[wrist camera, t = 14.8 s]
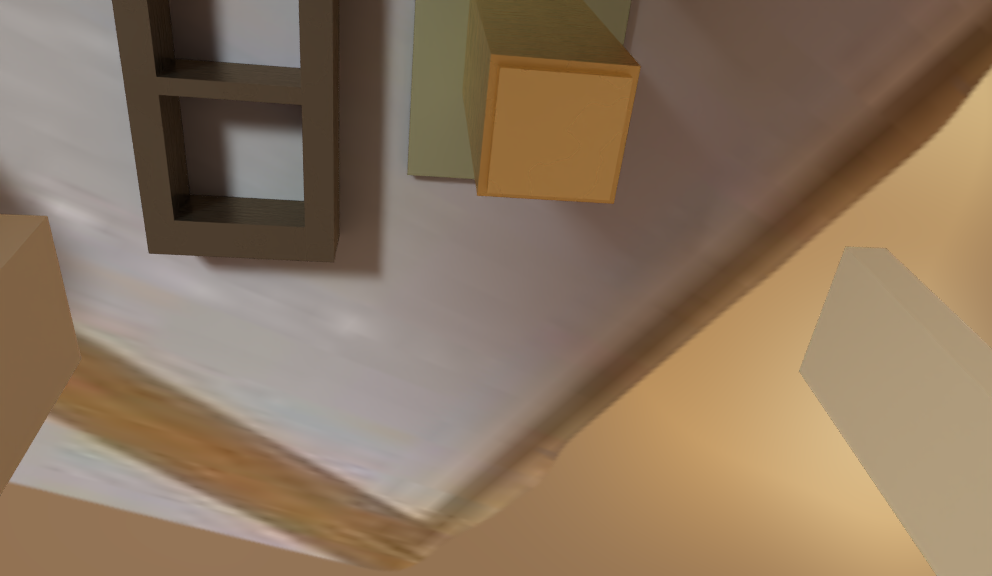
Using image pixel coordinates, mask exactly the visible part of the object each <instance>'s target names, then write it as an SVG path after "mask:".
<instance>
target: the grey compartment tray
mask: <svg viewBox="0 0 992 576" xmlns="http://www.w3.org/2000/svg"><path fill="white" fill-rule="evenodd" d="M112 4H113V11H114V18H115V25H116V32H117V38H118V45H119V52H120V59H121V66H122V73H123V80H124V87H125V93H126V100H127V107H128V114H129V121H130V128H131V135H132V141H133V148H134V155H135V162H136V169H137V176H138V183H139V190H140V196H141V203H142V210H143V217H144V224H145V231H146V238H147V244H148V251H149V253H150V254H171V255H191V256H212V257H233V258H254V259H275V260H296V261H317V262H334V260H335V255H336V250H337V245H338V240H339V0H299V27H300V63H301V68H291V67H278V66H265V65H252V64H239V63H226V62H214V61H201V60H188V59H175V55H174V46H173V37H172V27H171V18H170V9H169V0H112ZM179 96H183V97H196V98H210V99H224V100H238V101H252V102H266V103H280V104H294V105H302V136H303V172H304V201H292V200H275V199H257V198H240V197H222V196H205V195H190V191H189V182H188V173H187V164H186V155H185V146H184V137H183V128H182V118H181V109H180V100H179Z"/></svg>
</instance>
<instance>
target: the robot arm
mask: <svg viewBox="0 0 992 576" xmlns="http://www.w3.org/2000/svg"><path fill="white" fill-rule="evenodd" d="M80 361H81V355H80V351H79V347H78V343H77V338H76V334H75V330H74V326H73V322H72V317H71V313H70V309H69V305H68V301H67V296H66V292H65V288H64V284H63V280H62V275H61V271H60V267H59V263H58V259H57V254H56V250H55V246H54V242H53V238H52V233H51V229H50V225H49V221H48V217H47V216H34V215H8V214H0V495H1V494H2V492H3V490H4V489H5V487H6V485H7V484H8V482H9V480H10V478H11V477H12V475H13V473H14V472H15V470H16V468H17V467H18V465H19V463H20V462H21V460H22V458H23V457H24V455H25V453H26V452H27V450H28V448H29V446H30V445H31V443H32V441H33V440H34V438H35V436H36V435H37V433H38V431H39V430H40V428H41V426H42V425H43V423H44V421H45V420H46V418H47V416H48V414H49V413H50V411H51V409H52V408H53V406H54V404H55V403H56V401H57V399H58V398H59V396H60V394H61V393H62V391H63V389H64V388H65V386H66V384H67V382H68V381H69V379H70V377H71V376H72V374H73V372H74V371H75V369H76V367H77V366H78V364H79V362H80ZM799 372H800V374H801V375H802V377H803V378H804V379H805V381H806V382H807V384H808V385H809V387H810V388H811V390H812V391H813V393H814V394H815V396H816V397H817V399H818V400H819V402H820V403H821V405H822V406H823V408H824V409H825V411H826V412H827V414H828V415H829V417H830V418H831V420H832V421H833V423H834V424H835V425H836V427H837V429H838V430H839V432H840V433H841V434H842V436H843V437H844V439H845V440H846V442H847V443H848V445H849V446H850V448H851V449H852V451H853V452H854V454H855V455H856V457H857V458H858V460H859V461H860V463H861V464H862V466H863V467H864V469H865V470H866V471H867V473H868V474H869V476H870V478H871V479H872V480H873V482H874V483H875V485H876V486H877V488H878V489H879V491H880V492H881V494H882V495H883V497H884V498H885V499H886V501H887V503H888V504H889V506H890V507H891V509H892V510H893V511H894V513H895V515H896V516H897V518H898V519H899V521H900V522H901V524H902V525H903V526H904V528H905V530H906V531H907V533H908V534H909V535H910V537H911V538H912V540H913V541H914V543H915V544H916V546H917V547H918V549H919V550H920V552H921V553H922V555H923V556H924V557H925V559H926V561H927V562H928V564H929V565H930V567H931V568H932V570H933V571H934V573H935V574H936V576H992V348H991V347H990V346H989V345H988V344H986V343H985V342H984V341H983V340H982V339H981V338H980V337H979V336H978V335H977V334H976V333H975V332H974V331H973V330H972V329H971V328H970V327H969V326H968V325H966V324H965V323H964V322H963V321H962V320H961V319H960V318H959V317H958V316H957V315H956V314H955V313H954V312H953V311H952V310H951V309H950V308H949V307H948V306H946V305H945V304H944V303H943V302H942V301H941V300H940V299H939V298H938V297H937V296H936V295H935V294H934V293H933V292H932V291H931V290H930V289H929V288H928V287H926V286H925V285H924V284H923V283H922V282H921V281H920V280H919V279H918V278H917V277H916V276H915V275H914V274H913V273H912V272H911V271H910V270H909V269H908V268H907V267H905V266H904V265H903V264H902V263H901V262H900V261H899V260H898V259H897V258H896V257H895V256H894V255H893V254H892V253H891V252H890V251H889V250H888V249H887V248H869V247H845V249H844V252H843V255H842V257H841V260H840V263H839V265H838V268H837V271H836V273H835V276H834V279H833V281H832V284H831V287H830V290H829V292H828V295H827V298H826V300H825V303H824V305H823V308H822V311H821V313H820V316H819V319H818V322H817V324H816V327H815V329H814V332H813V335H812V338H811V340H810V343H809V346H808V348H807V351H806V354H805V356H804V359H803V362H802V364H801V367H800V370H799Z"/></svg>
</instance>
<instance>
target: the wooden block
mask: <svg viewBox="0 0 992 576" xmlns="http://www.w3.org/2000/svg"><path fill="white" fill-rule="evenodd" d="M640 68H641V66H640V65H639V64H638V63H637V62H636V60H635V59H634V58H633V57H632V56H631V55H630V54H629V52H628V51H627V50H626V49H625V48H624V47H623V45H622V44H621V43H620V42H619V41H618V40H617V39H616V37H615V36H614V35H613V34H612V33H611V32H610V31H609V29H608V28H607V27H606V26H605V25H604V24H603V22H602V21H601V20H600V19H599V18H598V17H597V16H596V14H595V13H594V12H593V11H592V10H591V9H590V8H589V6H588V5H587V4H586V3H585V2H584V1H583V0H470V3H469V15H468V28H467V40H466V52H465V65H464V77H463V90H462V95H463V101H464V108H465V115H466V122H467V129H468V136H469V143H470V150H471V157H472V163H473V170H474V177H475V184H476V191H477V196H493V197H510V198H527V199H544V200H560V201H577V202H594V203H611V204H614V200H615V195H616V189H617V184H618V179H619V174H620V169H621V164H622V159H623V154H624V149H625V144H626V139H627V134H628V129H629V123H630V118H631V113H632V108H633V103H634V98H635V93H636V88H637V83H638V78H639V73H640Z"/></svg>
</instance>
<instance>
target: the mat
mask: <svg viewBox="0 0 992 576" xmlns="http://www.w3.org/2000/svg"><path fill="white" fill-rule="evenodd" d="M583 1H584V2H585V3H586V4H587V5H588V6H589V8H590V9H591V10H592V11H593V12H594V13H595V14H596V16H597V17H598V18H599V19H600V20H601V21H602V22H603V24H604V25H605V26H606V27H607V28H608V29H609V31H610V32H611V33H612V34H613V35H614V36H615V37H616V39H617V40H618V41H619V42H620V43H621V44H622V45H623V44H624V38H625V33H626V27H627V22H628V16H629V11H630V5H631V0H583ZM469 3H470V0H416V1H415V22H414V44H413V65H412V87H411V108H410V130H409V152H408V174H407V175H416V176H433V177H449V178H465V179H475V177H474V170H473V163H472V157H471V150H470V143H469V136H468V129H467V122H466V115H465V108H464V101H463V95H462V90H463V77H464V65H465V52H466V40H467V28H468V15H469Z"/></svg>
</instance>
